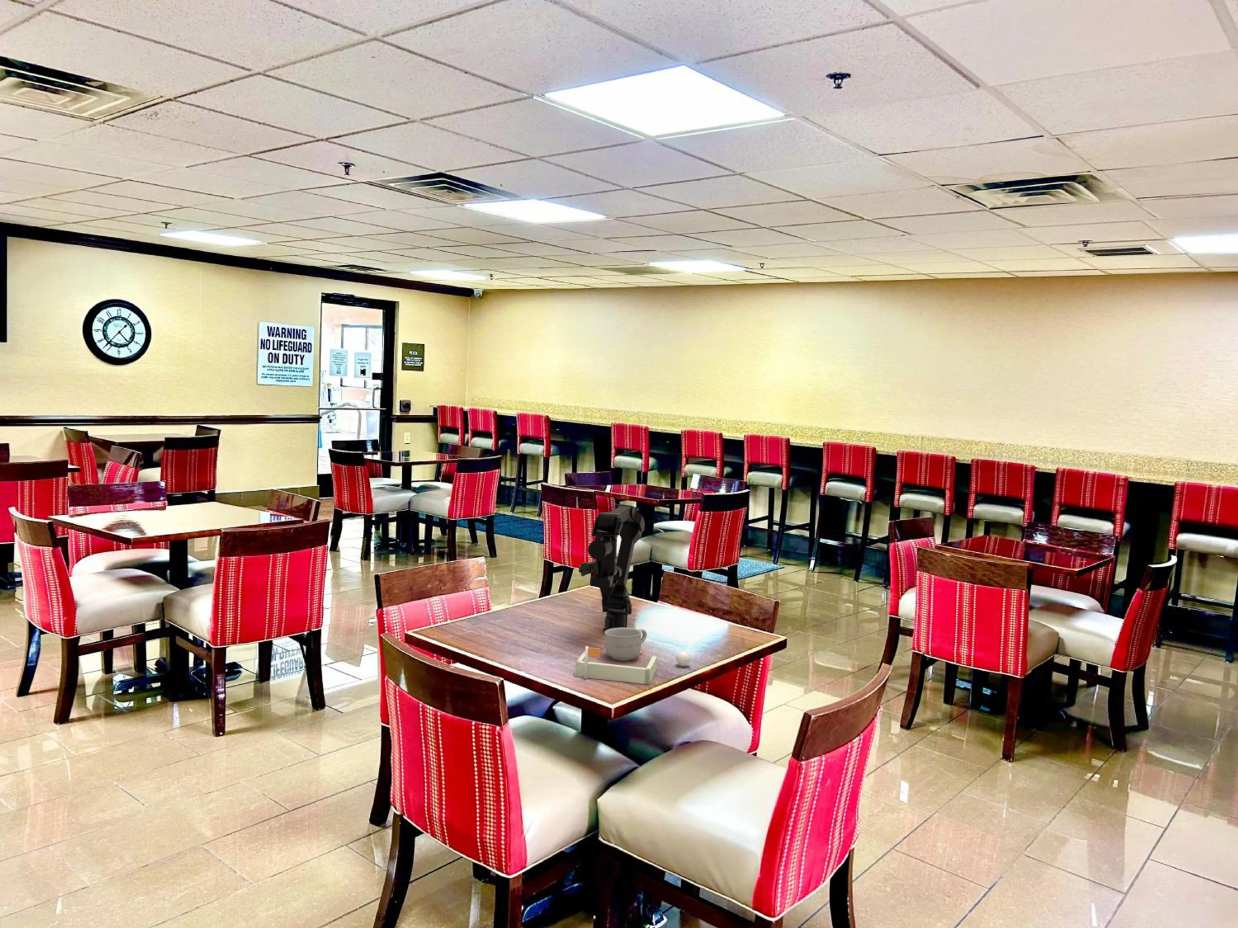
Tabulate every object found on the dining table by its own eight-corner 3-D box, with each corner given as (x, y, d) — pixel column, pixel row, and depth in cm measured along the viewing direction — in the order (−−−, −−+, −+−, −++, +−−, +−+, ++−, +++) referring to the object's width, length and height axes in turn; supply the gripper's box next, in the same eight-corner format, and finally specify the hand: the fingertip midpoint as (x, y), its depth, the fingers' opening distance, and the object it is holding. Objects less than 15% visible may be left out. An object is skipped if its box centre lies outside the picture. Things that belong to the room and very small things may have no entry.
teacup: (614, 665, 249) (615, 637, 248) (597, 654, 259) (598, 627, 258) (656, 659, 255) (657, 633, 255) (638, 649, 265) (640, 623, 264)
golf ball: (684, 662, 254) (685, 648, 253) (693, 666, 250) (694, 652, 250) (672, 664, 252) (673, 650, 251) (681, 669, 248) (682, 654, 248)
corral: (585, 662, 250) (587, 631, 249) (656, 670, 246) (657, 638, 245) (573, 678, 237) (575, 645, 236) (648, 686, 233) (649, 653, 232)
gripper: (588, 546, 279) (586, 594, 281) (574, 557, 261) (572, 608, 263) (622, 549, 277) (620, 597, 279) (610, 560, 259) (608, 611, 261)
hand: (605, 603), depth 270 cm, fingers closed
